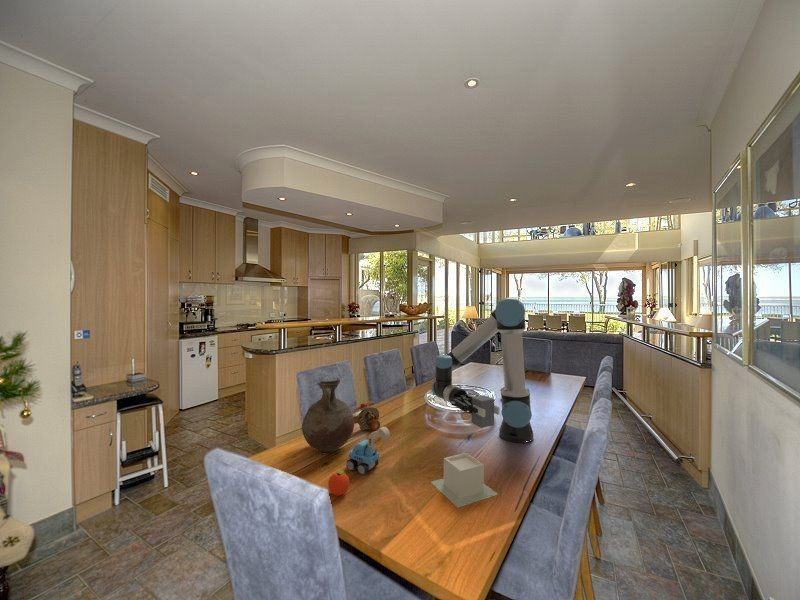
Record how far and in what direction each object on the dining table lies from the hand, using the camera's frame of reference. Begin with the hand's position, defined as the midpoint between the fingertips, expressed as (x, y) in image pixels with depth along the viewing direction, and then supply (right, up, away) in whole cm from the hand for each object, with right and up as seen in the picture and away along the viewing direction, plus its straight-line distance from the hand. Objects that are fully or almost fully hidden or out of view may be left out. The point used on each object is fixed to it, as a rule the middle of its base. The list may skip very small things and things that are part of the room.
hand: (491, 412), depth 128 cm
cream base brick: (-13, -21, -12) cm, 28 cm away
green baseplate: (-13, -22, -12) cm, 29 cm away
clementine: (-54, -22, -14) cm, 60 cm away
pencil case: (+34, -22, +82) cm, 91 cm away
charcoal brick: (-2, -6, +5) cm, 8 cm away
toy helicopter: (-53, -22, +39) cm, 69 cm away
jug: (-64, -22, +18) cm, 71 cm away
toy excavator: (-46, -22, +1) cm, 51 cm away
